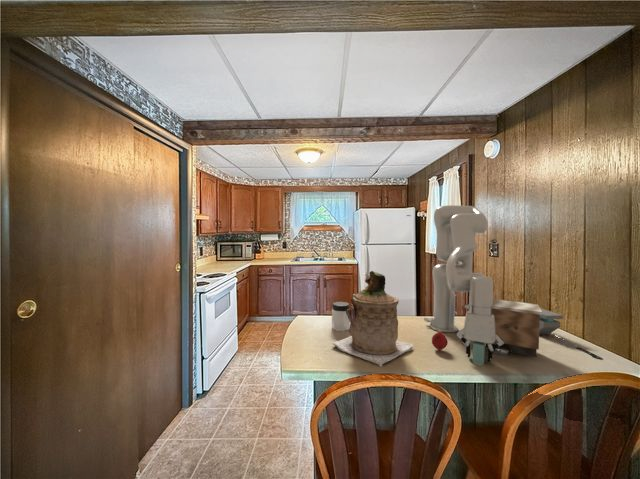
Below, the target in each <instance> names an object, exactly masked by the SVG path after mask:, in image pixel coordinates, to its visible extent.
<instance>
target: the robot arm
mask: <svg viewBox="0 0 640 479" xmlns="http://www.w3.org/2000/svg"><path fill="white" fill-rule="evenodd" d="M433 222H434V226H435V229H436V252H435V253H436V258H437V260H439V261H440V262H441V261H442V262H446V263H439V264H436V265H434V267H433V268H432V279H433V317H428V316H424V318H423V320H424V322H425V323H429V328H430V329H432V330H433V331H435V332H436V331H437V332H438V331H442V333H447V334H448V333H449V334H450V333H456V336H457V337H458V338H459V339H460V341H461V342H462V343H463V344H464V346H465V354H466V355H467V358H470V357H471V349H472V347H471V346H472V345H471V342H474V341H475V342H481V343H485V345H486V344H488V347H487V348H488V349H487V362H490V363H491V360H493V353H494V350H495V349H496V348H498V347H499V346H501V345H503V344H504V341H503V340H502V339H501V338H500V337H499V336H498V334H497V333H496V325H495V317H494V315H493V314H492V302H493V296H494V281H493V278H492V277H489V276H486V275H485V274H483V273H481V272H473V256H474V255H473V254H474V252H475V251H476V250H477V248H478V244H477V240H476V235H475V234H483V233H485V232H486V231H487V229H488V227H489V225H488V224H489V223H488V219H487V217H486V215H485V214H484V213H483V212H482V211H480V210H479V209H478V208H476V207H475V206H473V205H453V204H451V205H449V204H448V205H441V206H438V207H436V208H435V210H434V213H433ZM456 262H458V263H456ZM455 292H457V293H458V292H459V293H460V292H461V293H462V292H463V293H468V294H469V296H468V299H469V300H468V304H464V309H467V311H466V313H465V317H464V326H463V328H461V330H459V329H458V327H457V325H455V314H456V313H455V310H456V308H455V306H456V305H455V304H456V293H455ZM458 330H459V331H458ZM457 331H458V332H457ZM496 339H497V341H498V342H497V343H495V340H496ZM494 343H495V344H494Z"/></svg>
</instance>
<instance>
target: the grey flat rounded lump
mask: <svg viewBox="0 0 640 479" xmlns="http://www.w3.org/2000/svg"><path fill="white" fill-rule="evenodd" d="M493 353H494V354H496V355H498V354H499V355H498V356H502V355H508V356H509V355H510V354H509V348H508V347H506V346H502V345H501V346H499V347H498V348H496V349H495V350H493Z"/></svg>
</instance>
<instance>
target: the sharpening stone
mask: <svg viewBox="0 0 640 479" xmlns="http://www.w3.org/2000/svg"><path fill="white" fill-rule="evenodd" d="M520 302H521V303H525V302H524V301H520ZM540 309H541V311H542V315H540V328H539V335H550V334H551V333H553V332H555V331H556V330H558V329H559V328H560V327H561V321H558V320H563V319H564V315H563V314H560V313H556V312H554V311H551V310H547V309H544V308H542V307H540Z"/></svg>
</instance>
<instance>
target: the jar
mask: <svg viewBox="0 0 640 479" xmlns="http://www.w3.org/2000/svg"><path fill="white" fill-rule="evenodd" d="M347 309H351V306H350V303H349V302H346V301H335V302H333V303H332V307H331V328H332V330H334V331H338V332H345V331H349V328H350V321H349V319H348V316H347V315H346V310H347Z"/></svg>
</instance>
